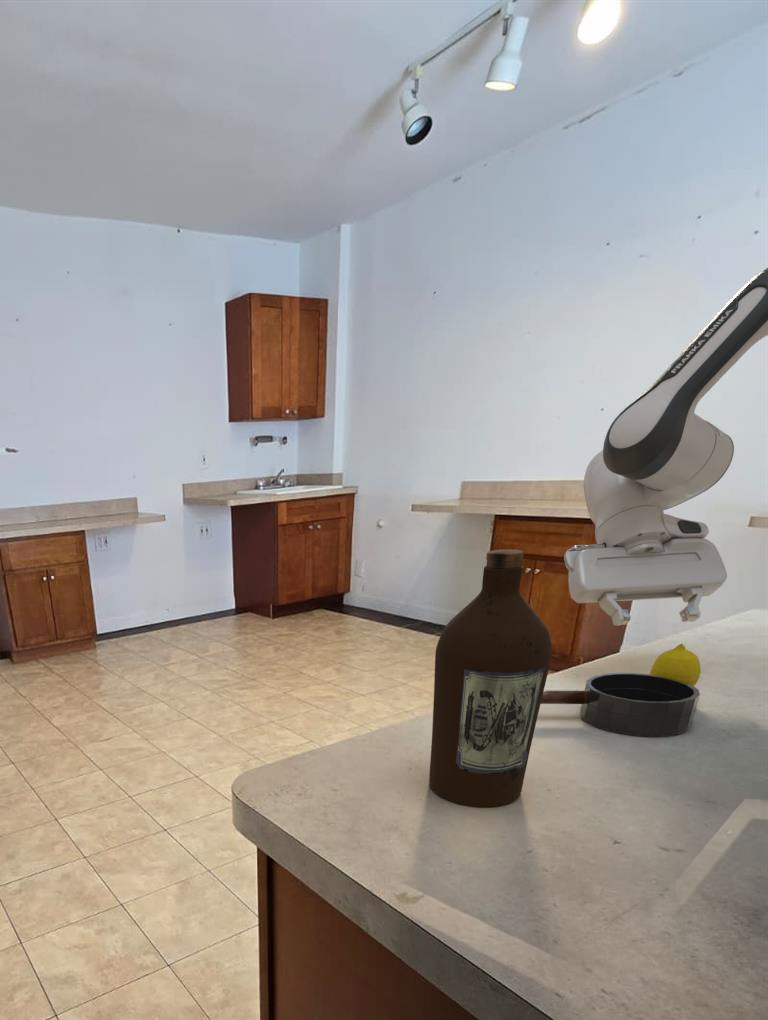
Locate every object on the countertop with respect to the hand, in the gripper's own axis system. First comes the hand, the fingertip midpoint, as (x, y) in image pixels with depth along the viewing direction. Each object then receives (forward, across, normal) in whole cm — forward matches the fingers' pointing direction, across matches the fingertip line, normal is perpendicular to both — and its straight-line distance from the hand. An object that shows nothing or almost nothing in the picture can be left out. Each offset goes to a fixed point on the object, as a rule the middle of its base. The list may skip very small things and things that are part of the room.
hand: (657, 621), depth 91 cm
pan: (+16, -8, -2) cm, 18 cm away
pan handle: (+13, -19, -2) cm, 23 cm away
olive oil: (+29, -35, -15) cm, 47 cm away
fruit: (+11, 0, +2) cm, 12 cm away
